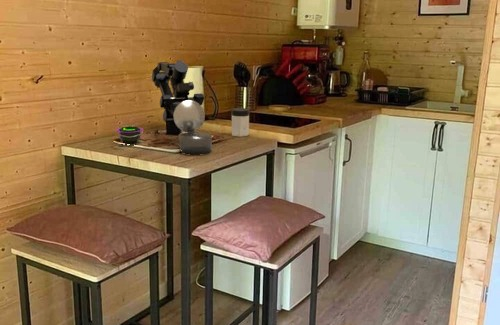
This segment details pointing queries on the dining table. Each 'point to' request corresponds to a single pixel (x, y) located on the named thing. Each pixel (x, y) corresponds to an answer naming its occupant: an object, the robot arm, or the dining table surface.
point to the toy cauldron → (130, 135)
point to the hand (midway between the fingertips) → (186, 116)
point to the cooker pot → (196, 143)
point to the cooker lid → (189, 116)
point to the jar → (240, 122)
